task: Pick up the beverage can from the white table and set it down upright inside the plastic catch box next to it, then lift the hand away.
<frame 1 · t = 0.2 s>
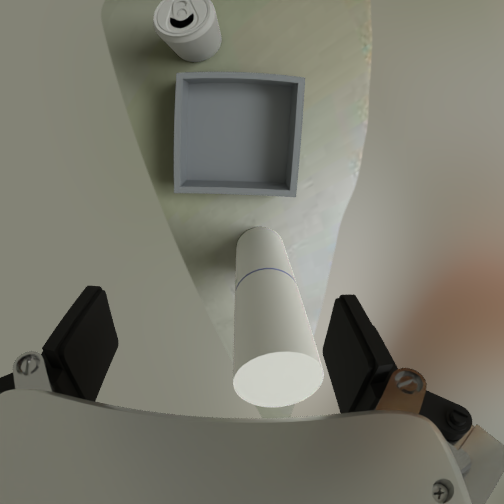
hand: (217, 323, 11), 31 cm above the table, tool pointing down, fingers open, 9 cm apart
beverage can: (198, 42, 31), on the table
catch box: (237, 131, 36), on the table
cylindrical container: (260, 248, 44), on the table
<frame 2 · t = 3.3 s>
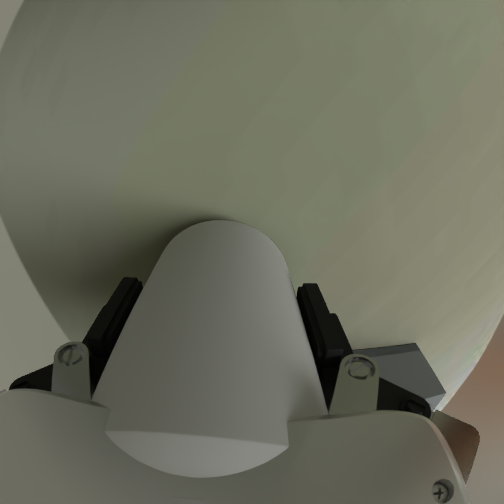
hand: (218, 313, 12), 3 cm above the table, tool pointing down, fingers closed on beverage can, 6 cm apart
beverage can: (223, 272, 15), on the table, touching gripper
catch box: (300, 415, 20), on the table
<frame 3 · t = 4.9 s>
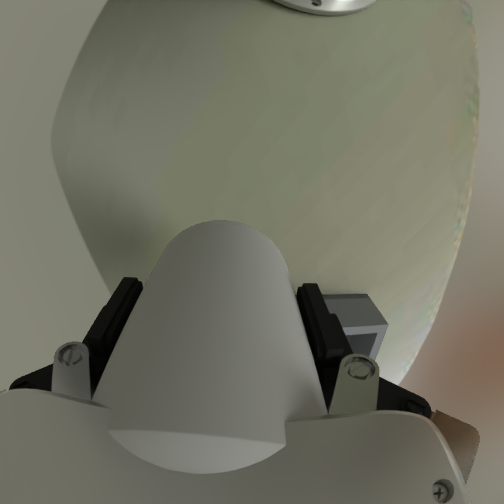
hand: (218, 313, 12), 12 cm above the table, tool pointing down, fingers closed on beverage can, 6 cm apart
beverage can: (223, 272, 15), point 9 cm above the table, touching gripper
catch box: (282, 356, 29), on the table
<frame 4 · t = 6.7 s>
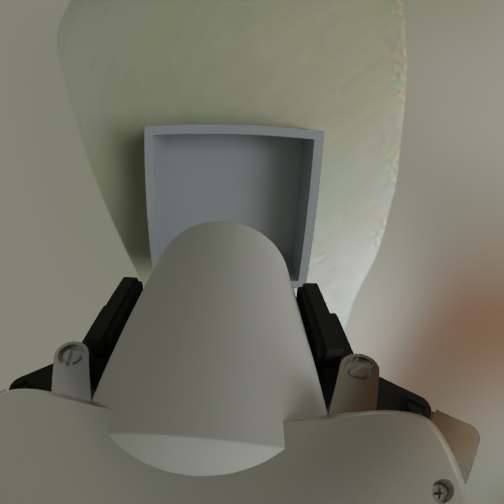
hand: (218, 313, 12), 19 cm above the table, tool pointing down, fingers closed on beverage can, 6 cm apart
beverage can: (223, 273, 15), point 16 cm above the table, touching gripper
catch box: (232, 197, 29), on the table
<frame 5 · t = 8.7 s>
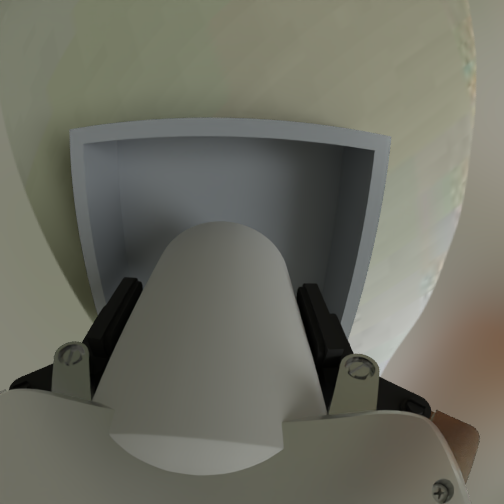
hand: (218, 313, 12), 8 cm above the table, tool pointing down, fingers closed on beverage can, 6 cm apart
beverage can: (223, 274, 15), point 4 cm above the table, touching gripper
catch box: (226, 238, 19), on the table
when the fingers open (6 cm above the table, at t = 10.1 s): beverage can drops 2 cm, resting on catch box.
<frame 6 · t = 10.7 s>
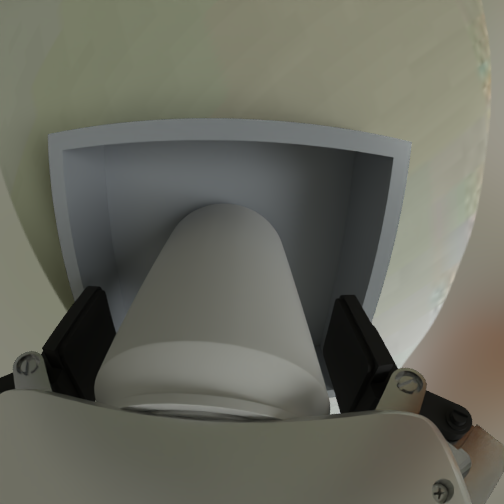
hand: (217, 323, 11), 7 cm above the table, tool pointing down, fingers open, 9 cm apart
beverage can: (225, 253, 16), point 1 cm above the table, touching catch box
catch box: (225, 252, 17), on the table
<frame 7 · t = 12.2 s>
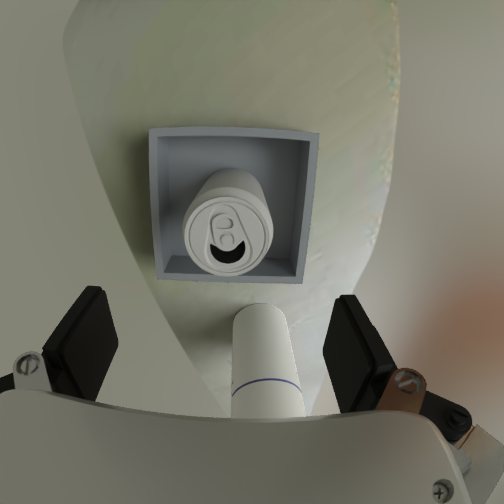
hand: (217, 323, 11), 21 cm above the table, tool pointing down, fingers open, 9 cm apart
beverage can: (232, 196, 30), point 1 cm above the table, touching catch box
catch box: (232, 197, 31), on the table
cylindrical container: (259, 324, 38), on the table
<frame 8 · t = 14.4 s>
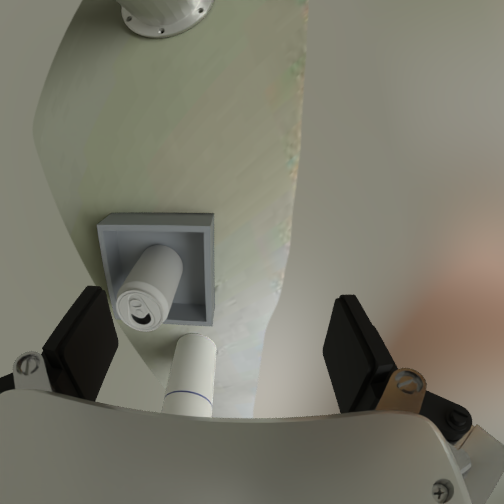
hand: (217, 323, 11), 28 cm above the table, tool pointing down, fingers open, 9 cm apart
beverage can: (162, 262, 41), point 1 cm above the table, touching catch box
catch box: (163, 261, 41), on the table
cylindrical container: (196, 347, 49), on the table
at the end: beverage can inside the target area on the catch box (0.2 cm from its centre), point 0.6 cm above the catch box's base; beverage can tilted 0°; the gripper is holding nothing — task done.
